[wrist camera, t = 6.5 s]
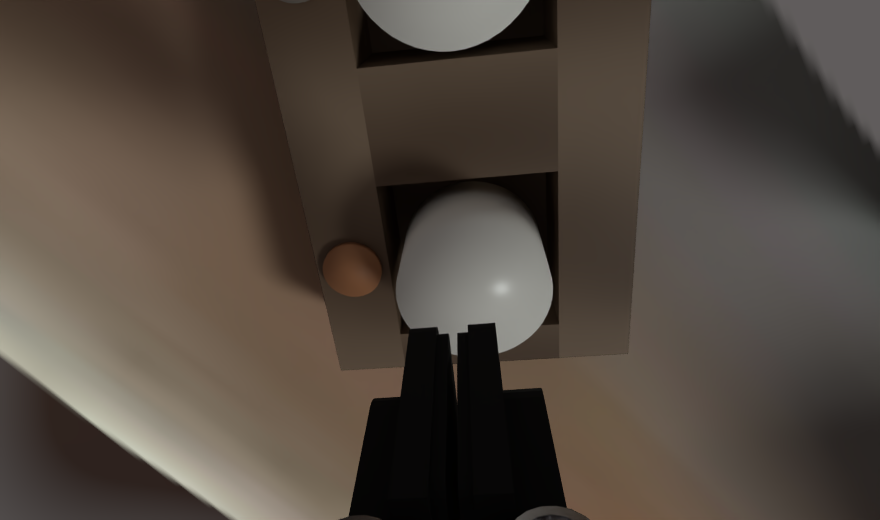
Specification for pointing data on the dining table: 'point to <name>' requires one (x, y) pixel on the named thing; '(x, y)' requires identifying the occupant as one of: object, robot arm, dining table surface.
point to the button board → (466, 156)
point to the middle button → (443, 21)
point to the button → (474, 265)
